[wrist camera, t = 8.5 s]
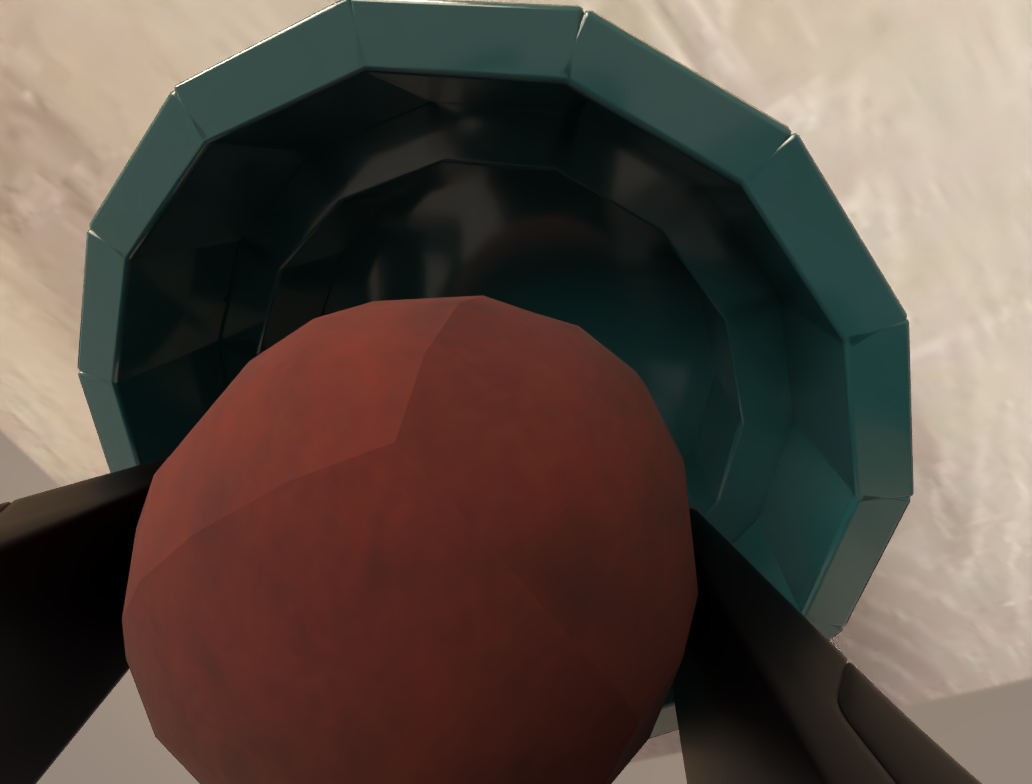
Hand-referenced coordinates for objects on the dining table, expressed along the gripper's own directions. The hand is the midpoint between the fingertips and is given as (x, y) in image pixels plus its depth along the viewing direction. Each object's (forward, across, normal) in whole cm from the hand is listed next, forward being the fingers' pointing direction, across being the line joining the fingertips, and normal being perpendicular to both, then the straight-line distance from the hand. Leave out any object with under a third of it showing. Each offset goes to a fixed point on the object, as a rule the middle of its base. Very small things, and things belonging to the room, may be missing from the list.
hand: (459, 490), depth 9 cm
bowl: (+6, 0, 0) cm, 6 cm away
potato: (+2, 0, 0) cm, 2 cm away
